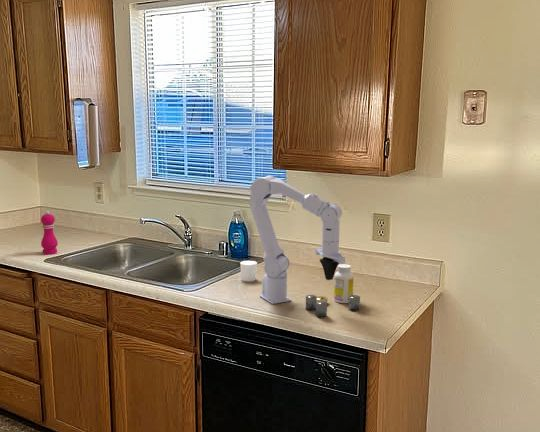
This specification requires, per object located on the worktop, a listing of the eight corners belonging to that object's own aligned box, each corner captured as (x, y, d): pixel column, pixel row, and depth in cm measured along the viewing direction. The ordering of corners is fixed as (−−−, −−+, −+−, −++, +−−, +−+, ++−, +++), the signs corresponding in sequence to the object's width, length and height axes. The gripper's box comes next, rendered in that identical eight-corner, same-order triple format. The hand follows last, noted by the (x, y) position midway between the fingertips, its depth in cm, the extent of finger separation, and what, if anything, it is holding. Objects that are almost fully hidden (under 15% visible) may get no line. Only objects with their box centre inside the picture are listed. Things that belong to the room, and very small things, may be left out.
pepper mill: (42, 255, 252) (39, 212, 248) (40, 252, 258) (37, 210, 254) (59, 253, 255) (56, 211, 252) (57, 250, 262) (54, 209, 258)
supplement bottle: (350, 297, 199) (352, 263, 197) (354, 303, 192) (355, 268, 190) (332, 297, 199) (333, 263, 196) (335, 303, 192) (336, 268, 190)
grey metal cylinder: (346, 308, 188) (347, 296, 187) (355, 306, 189) (355, 294, 189) (353, 311, 185) (353, 299, 184) (361, 310, 186) (362, 297, 185)
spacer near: (303, 308, 187) (303, 295, 187) (312, 306, 189) (312, 294, 188) (309, 311, 184) (309, 298, 184) (318, 309, 186) (318, 297, 185)
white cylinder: (236, 279, 220) (236, 262, 218) (249, 275, 224) (249, 259, 223) (247, 283, 215) (247, 265, 213) (260, 279, 219) (260, 262, 218)
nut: (312, 302, 194) (312, 297, 193) (322, 300, 196) (322, 295, 195) (319, 306, 190) (319, 300, 190) (329, 304, 192) (329, 298, 192)
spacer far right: (313, 315, 181) (314, 302, 180) (322, 313, 183) (323, 300, 182) (319, 318, 178) (320, 305, 177) (329, 316, 180) (329, 303, 179)
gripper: (353, 243, 180) (351, 283, 183) (327, 235, 193) (326, 272, 195) (335, 246, 177) (334, 286, 179) (311, 237, 189) (310, 274, 192)
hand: (329, 279), depth 187 cm, fingers closed
